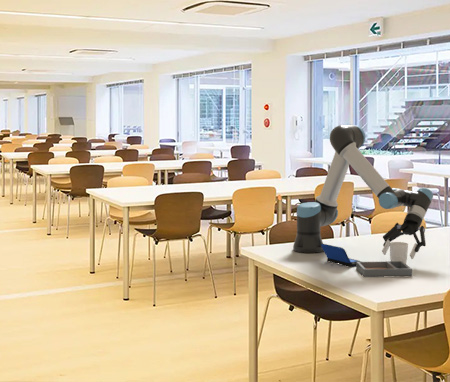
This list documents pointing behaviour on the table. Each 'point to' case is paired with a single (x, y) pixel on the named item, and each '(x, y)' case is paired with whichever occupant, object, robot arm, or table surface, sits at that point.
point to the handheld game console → (338, 255)
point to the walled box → (383, 268)
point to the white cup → (398, 251)
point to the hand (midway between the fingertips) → (397, 255)
